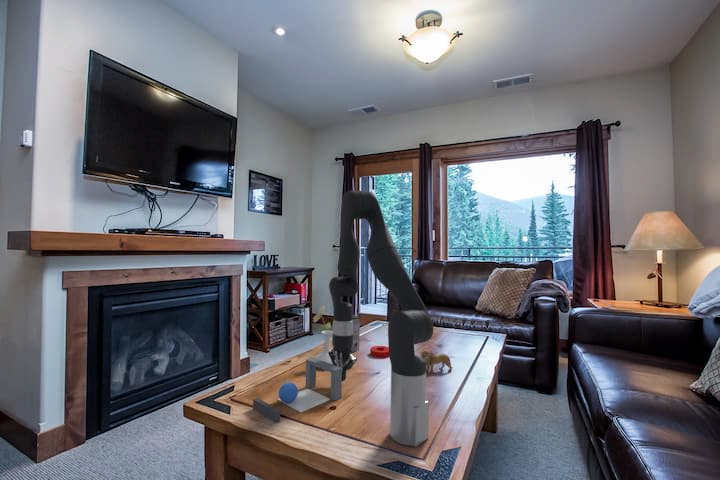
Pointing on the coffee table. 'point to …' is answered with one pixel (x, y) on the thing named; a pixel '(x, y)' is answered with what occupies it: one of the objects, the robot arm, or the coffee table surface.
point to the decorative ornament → (379, 351)
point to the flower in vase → (327, 335)
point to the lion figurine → (435, 360)
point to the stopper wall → (266, 409)
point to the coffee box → (356, 333)
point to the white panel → (306, 400)
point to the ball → (288, 392)
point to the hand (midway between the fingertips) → (341, 380)
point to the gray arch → (335, 370)
